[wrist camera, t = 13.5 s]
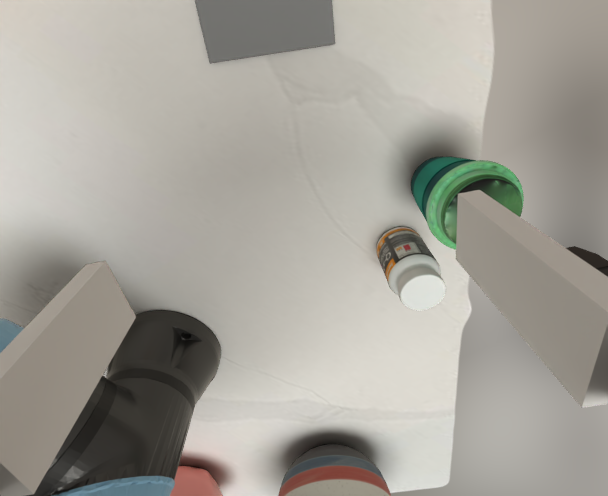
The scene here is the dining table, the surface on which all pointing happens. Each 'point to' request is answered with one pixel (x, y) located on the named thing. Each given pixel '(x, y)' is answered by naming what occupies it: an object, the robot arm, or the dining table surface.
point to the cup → (460, 190)
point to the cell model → (194, 483)
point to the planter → (333, 474)
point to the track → (263, 26)
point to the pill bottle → (410, 269)
